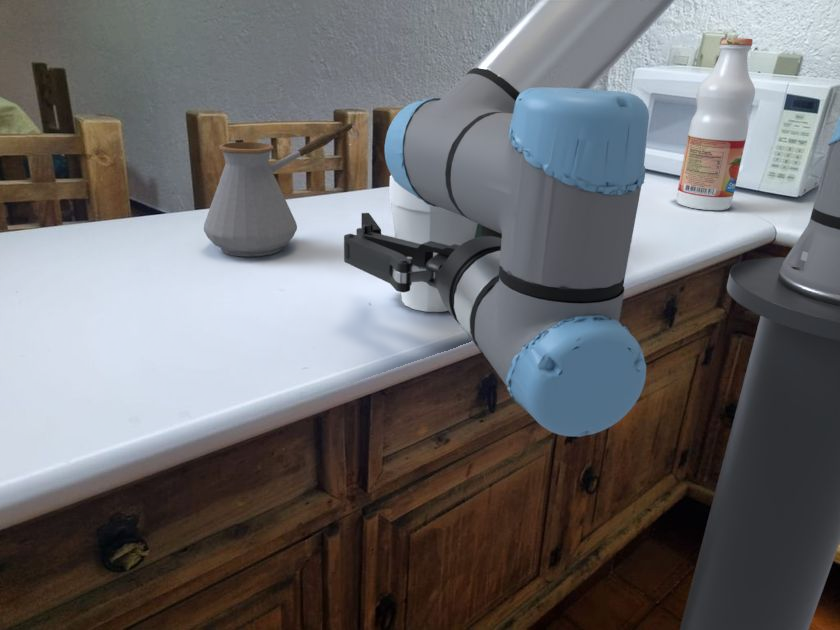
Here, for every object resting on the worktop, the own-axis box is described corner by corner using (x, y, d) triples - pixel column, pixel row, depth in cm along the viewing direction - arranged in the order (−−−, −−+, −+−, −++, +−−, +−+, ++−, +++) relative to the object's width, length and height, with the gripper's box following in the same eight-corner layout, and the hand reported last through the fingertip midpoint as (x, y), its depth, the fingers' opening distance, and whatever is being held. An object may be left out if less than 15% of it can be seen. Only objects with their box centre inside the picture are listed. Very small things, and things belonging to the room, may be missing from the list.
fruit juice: (669, 198, 124) (699, 37, 113) (720, 201, 123) (755, 39, 113) (682, 209, 115) (716, 36, 105) (738, 212, 115) (777, 39, 104)
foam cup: (470, 286, 74) (478, 170, 69) (482, 318, 66) (493, 188, 61) (386, 285, 73) (388, 167, 68) (387, 317, 65) (390, 185, 60)
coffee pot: (226, 267, 77) (216, 135, 71) (192, 243, 85) (180, 123, 79) (378, 242, 89) (380, 128, 83) (335, 223, 97) (334, 118, 92)
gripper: (338, 350, 49) (310, 262, 68) (632, 329, 55) (530, 253, 74) (337, 254, 46) (308, 190, 65) (647, 242, 52) (537, 187, 71)
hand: (426, 224), depth 70 cm, fingers open, 12 cm apart
